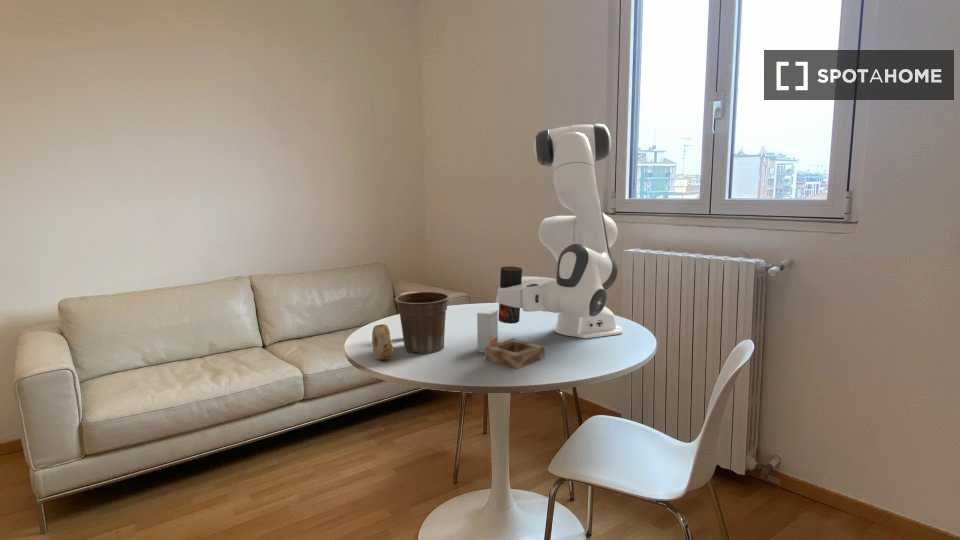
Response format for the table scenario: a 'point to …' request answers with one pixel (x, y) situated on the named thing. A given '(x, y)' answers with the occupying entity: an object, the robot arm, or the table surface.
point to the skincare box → (487, 329)
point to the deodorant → (507, 279)
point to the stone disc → (381, 342)
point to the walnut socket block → (515, 353)
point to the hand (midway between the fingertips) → (507, 288)
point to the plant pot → (423, 320)
